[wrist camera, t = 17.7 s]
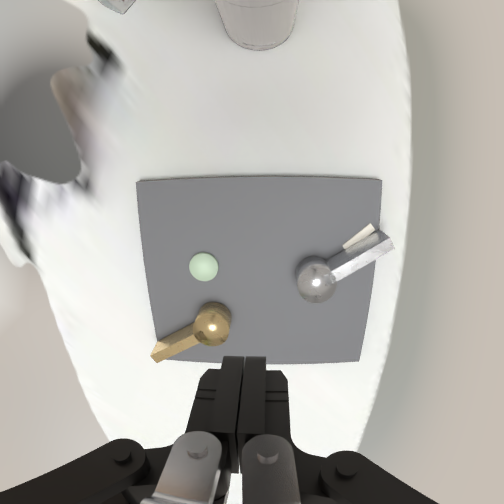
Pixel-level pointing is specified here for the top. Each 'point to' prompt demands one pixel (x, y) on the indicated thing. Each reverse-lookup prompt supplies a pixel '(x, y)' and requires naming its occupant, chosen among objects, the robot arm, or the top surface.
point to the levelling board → (258, 262)
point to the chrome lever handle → (338, 267)
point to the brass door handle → (197, 332)
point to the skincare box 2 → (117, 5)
